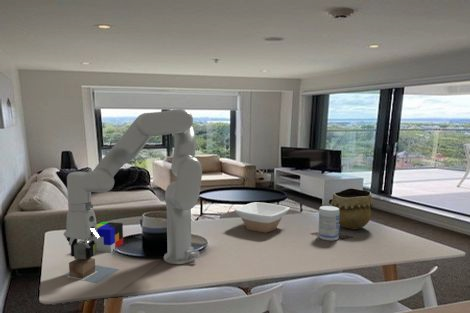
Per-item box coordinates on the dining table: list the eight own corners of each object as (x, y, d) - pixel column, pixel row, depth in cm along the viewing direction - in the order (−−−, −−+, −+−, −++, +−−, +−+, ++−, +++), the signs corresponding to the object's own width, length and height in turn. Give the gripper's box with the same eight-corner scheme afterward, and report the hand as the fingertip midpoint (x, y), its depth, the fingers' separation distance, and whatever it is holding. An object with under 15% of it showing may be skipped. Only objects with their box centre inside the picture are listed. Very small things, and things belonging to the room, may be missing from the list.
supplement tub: (340, 241, 161) (341, 210, 159) (320, 241, 161) (321, 210, 160) (336, 234, 170) (337, 205, 169) (316, 234, 171) (317, 205, 170)
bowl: (230, 230, 178) (230, 209, 177) (255, 219, 198) (255, 201, 197) (270, 239, 164) (271, 217, 163) (293, 226, 184) (293, 207, 183)
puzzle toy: (111, 252, 146) (110, 229, 145) (89, 251, 148) (89, 228, 147) (123, 244, 156) (122, 223, 155) (103, 243, 158) (102, 221, 157)
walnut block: (95, 271, 126) (94, 258, 125) (83, 278, 120) (82, 265, 120) (82, 269, 128) (81, 256, 127) (69, 276, 122) (68, 262, 122)
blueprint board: (120, 270, 128) (120, 269, 128) (97, 285, 117) (97, 283, 117) (85, 264, 134) (85, 263, 134) (60, 277, 122) (60, 276, 122)
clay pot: (353, 237, 167) (354, 196, 165) (321, 225, 186) (323, 189, 184) (381, 230, 177) (383, 192, 175) (349, 220, 196) (350, 185, 194)
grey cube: (94, 253, 127) (93, 240, 127) (88, 259, 122) (87, 245, 122) (81, 253, 127) (80, 240, 127) (74, 258, 122) (73, 245, 122)
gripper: (107, 206, 122) (109, 255, 124) (69, 202, 128) (71, 249, 130) (92, 211, 115) (94, 263, 117) (52, 207, 121) (55, 257, 123)
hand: (82, 255), depth 123 cm, fingers closed on grey cube, 5 cm apart
